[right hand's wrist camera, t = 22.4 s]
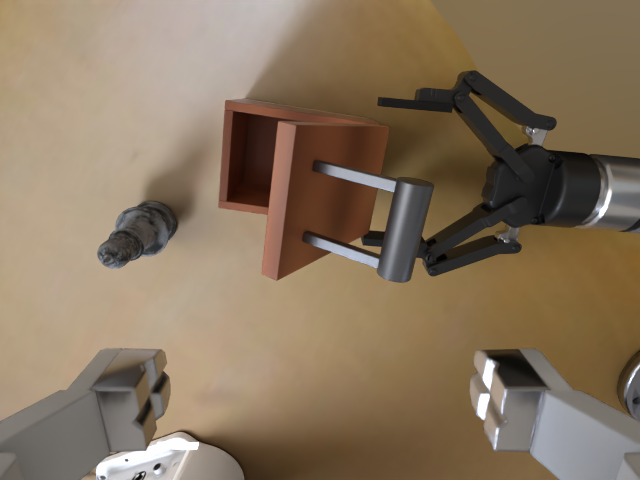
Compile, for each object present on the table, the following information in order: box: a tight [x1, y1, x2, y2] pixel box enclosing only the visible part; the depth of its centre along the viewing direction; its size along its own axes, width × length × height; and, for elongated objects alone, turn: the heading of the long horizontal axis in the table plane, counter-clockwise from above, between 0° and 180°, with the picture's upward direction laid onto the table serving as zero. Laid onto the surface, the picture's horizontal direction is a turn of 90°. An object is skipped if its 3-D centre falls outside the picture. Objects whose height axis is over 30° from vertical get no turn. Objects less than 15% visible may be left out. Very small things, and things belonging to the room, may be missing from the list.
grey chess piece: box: [97, 201, 176, 269], centre depth 43 cm, size 6×6×12 cm
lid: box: [262, 121, 434, 282], centre depth 29 cm, size 14×10×9 cm
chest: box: [218, 99, 381, 215], centre depth 41 cm, size 14×10×10 cm
